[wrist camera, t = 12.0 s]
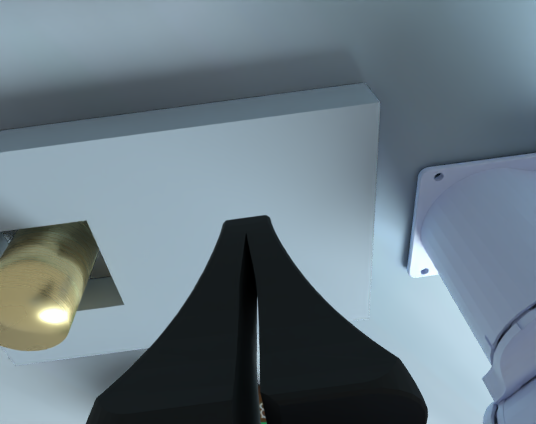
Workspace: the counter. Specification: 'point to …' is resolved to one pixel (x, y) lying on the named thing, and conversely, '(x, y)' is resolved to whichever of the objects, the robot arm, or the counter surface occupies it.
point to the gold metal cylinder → (44, 283)
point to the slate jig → (198, 201)
